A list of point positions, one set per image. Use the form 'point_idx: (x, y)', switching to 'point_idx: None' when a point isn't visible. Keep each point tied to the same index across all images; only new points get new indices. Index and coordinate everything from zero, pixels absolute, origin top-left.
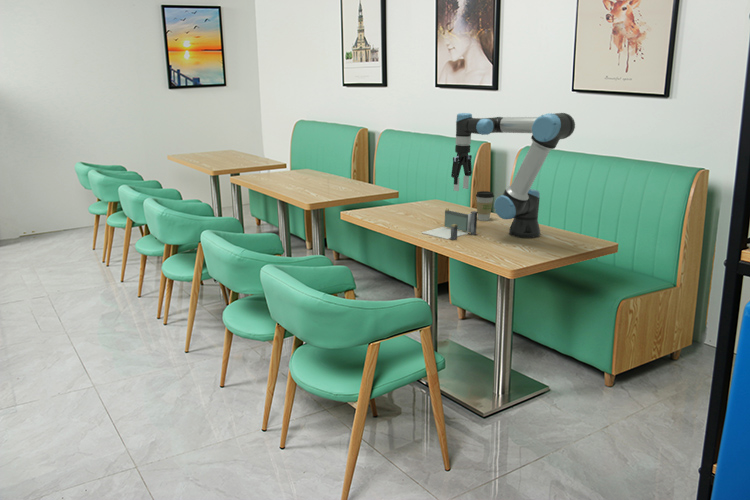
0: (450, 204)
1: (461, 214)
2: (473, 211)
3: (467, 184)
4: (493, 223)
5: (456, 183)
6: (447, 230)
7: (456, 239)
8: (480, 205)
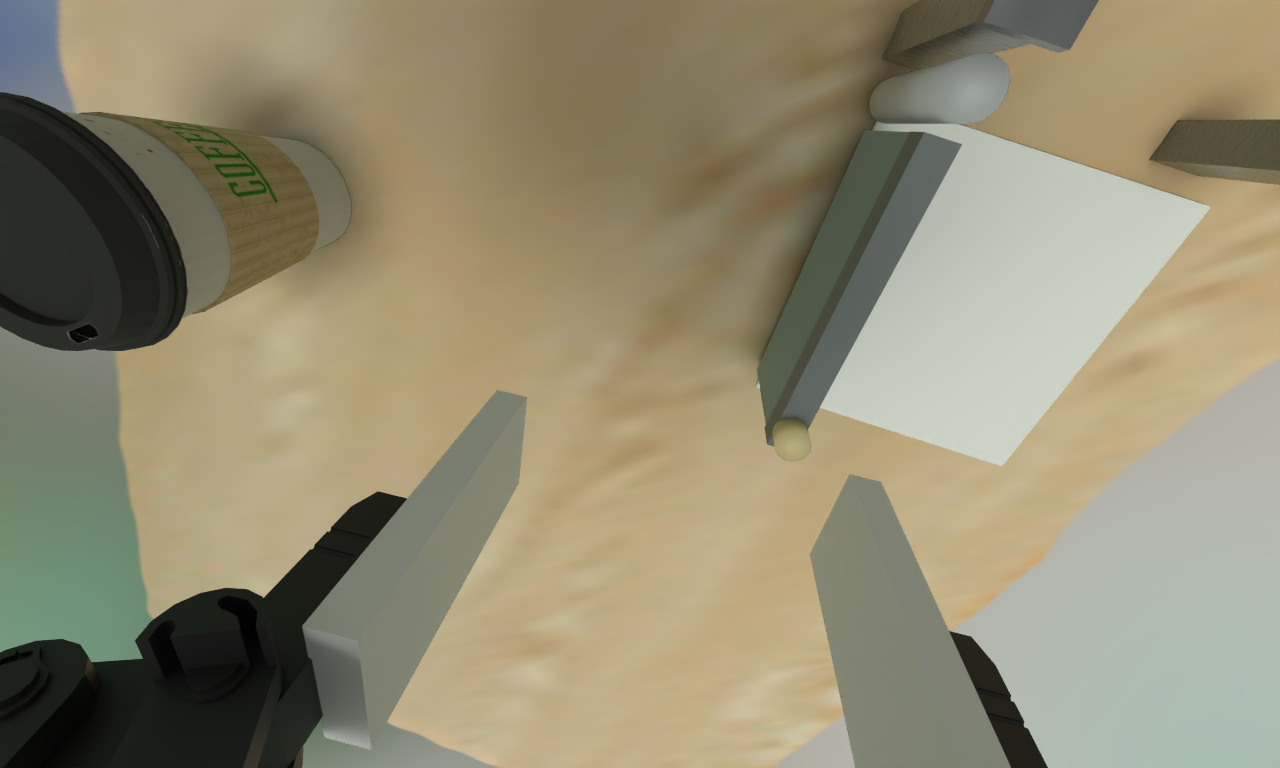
0: (142, 533)
1: (909, 233)
2: (1021, 13)
3: (490, 454)
4: (360, 42)
5: (970, 660)
6: None
7: (1185, 122)
8: (257, 233)
